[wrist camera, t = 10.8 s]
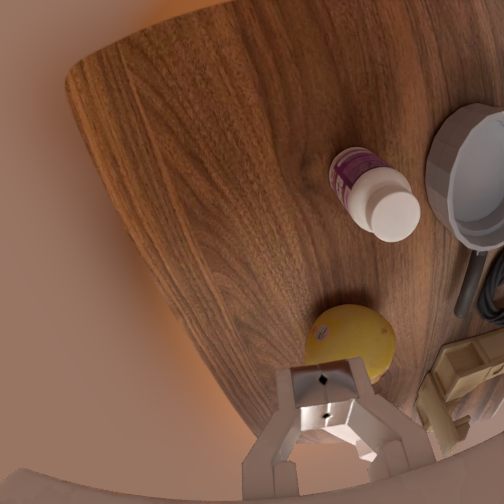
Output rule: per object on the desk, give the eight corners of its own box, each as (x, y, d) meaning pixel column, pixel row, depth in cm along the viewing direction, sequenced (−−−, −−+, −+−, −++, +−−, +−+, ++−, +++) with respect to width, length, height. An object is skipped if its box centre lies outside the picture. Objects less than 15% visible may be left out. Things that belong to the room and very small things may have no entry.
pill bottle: (316, 169, 28) (346, 213, 20) (360, 134, 26) (408, 165, 18) (347, 209, 30) (383, 264, 22) (389, 177, 29) (438, 222, 20)
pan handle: (472, 236, 29) (481, 245, 28) (484, 235, 29) (493, 244, 28) (449, 312, 35) (456, 322, 34) (461, 309, 35) (467, 319, 34)
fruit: (284, 339, 40) (293, 405, 31) (330, 276, 35) (355, 342, 26) (346, 355, 42) (363, 414, 34) (394, 301, 37) (424, 360, 29)
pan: (425, 95, 24) (454, 102, 20) (522, 111, 24) (550, 121, 19) (415, 234, 32) (436, 258, 28) (505, 224, 32) (527, 244, 27)
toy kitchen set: (473, 384, 52) (498, 438, 39) (410, 405, 53) (431, 468, 40) (507, 324, 42) (546, 384, 30) (438, 345, 43) (475, 421, 30)
